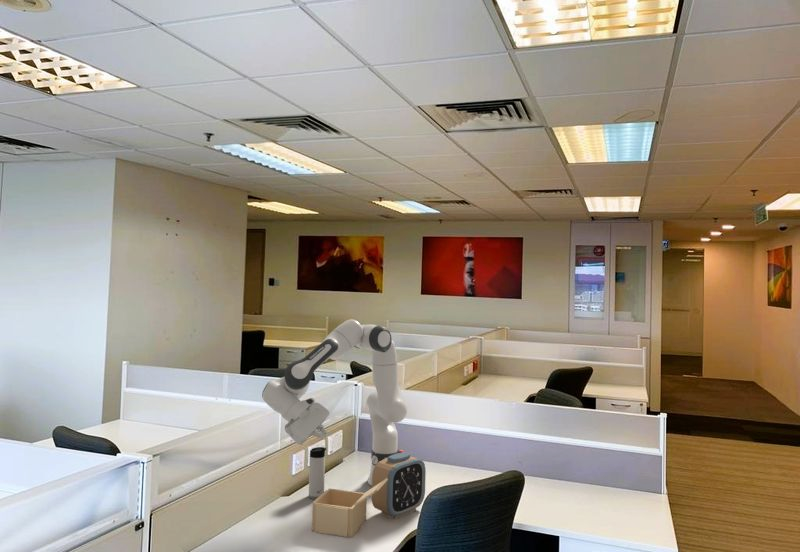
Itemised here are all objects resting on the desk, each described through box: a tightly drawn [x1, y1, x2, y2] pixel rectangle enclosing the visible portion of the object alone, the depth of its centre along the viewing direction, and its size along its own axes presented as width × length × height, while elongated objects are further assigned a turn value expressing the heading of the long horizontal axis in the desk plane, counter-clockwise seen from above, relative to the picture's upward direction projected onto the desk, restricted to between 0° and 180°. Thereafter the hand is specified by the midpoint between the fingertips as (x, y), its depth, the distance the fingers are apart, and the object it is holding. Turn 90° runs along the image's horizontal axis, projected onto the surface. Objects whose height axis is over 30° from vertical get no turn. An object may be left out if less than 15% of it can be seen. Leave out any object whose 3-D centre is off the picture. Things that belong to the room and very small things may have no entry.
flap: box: [354, 478, 388, 506], centre depth 202 cm, size 1×12×10 cm
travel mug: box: [308, 446, 327, 500], centre depth 233 cm, size 6×7×20 cm
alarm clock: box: [371, 451, 427, 520], centre depth 219 cm, size 21×10×22 cm, turn 137°
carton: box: [311, 488, 368, 539], centre depth 206 cm, size 16×16×10 cm
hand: (325, 436), depth 213 cm, fingers closed
